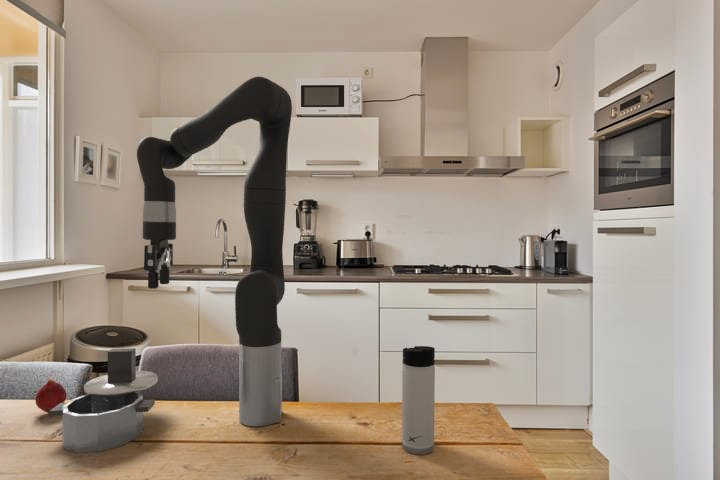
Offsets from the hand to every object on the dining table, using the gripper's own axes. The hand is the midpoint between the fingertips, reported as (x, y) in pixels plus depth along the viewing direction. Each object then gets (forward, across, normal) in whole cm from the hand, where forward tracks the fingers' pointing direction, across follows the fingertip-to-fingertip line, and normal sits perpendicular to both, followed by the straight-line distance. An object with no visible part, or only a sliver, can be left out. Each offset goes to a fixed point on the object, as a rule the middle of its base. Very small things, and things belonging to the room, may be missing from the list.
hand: (159, 286), depth 110 cm
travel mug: (+28, -31, -58) cm, 72 cm away
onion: (+29, -6, +22) cm, 37 cm away
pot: (+28, -19, +5) cm, 34 cm away
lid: (+21, -10, +5) cm, 24 cm away
